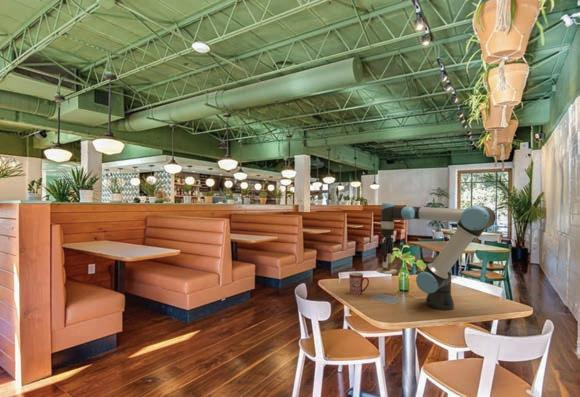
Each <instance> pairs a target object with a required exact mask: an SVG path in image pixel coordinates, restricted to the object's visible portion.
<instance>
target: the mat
mask: <svg viewBox="0 0 580 397" xmlns="http://www.w3.org/2000/svg"><path fill="white" fill-rule="evenodd" d="M403 299H404V298H403V297H400V296H394V295H391V294H390V295H389V294H386V293H385V294H384V293H379V292H378V293H376V294H375V295H372V296H371V297H369V298H368V300H372V301H375V302H381V303H385V304H389V305H396V304H397V303H399V302H400V301H402V300H403Z"/></svg>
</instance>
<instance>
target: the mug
mask: <svg viewBox="0 0 580 397" xmlns="http://www.w3.org/2000/svg"><path fill="white" fill-rule="evenodd" d="M348 276H349V277H348V278H349V295H352V296H356V297H357V296H358V297H360V296H362V295H363V292H364V291H365V290H366V289H367V288H368V286H369V284H370V280H369V278H368V277H366V276H364V273H362V272H355V271H353V272H349V273H348ZM363 276H364V277H363ZM365 279H366V281H367V284H366V286H365V287H364V288H363V282H364V281H365Z"/></svg>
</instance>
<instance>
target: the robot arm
mask: <svg viewBox="0 0 580 397" xmlns="http://www.w3.org/2000/svg"><path fill="white" fill-rule="evenodd" d="M380 207H381V208H380V209H381V210H380V217H381V218H380V227H381V228H380V235H382V239H381V238H380V242H381V243H380V244H381V246H380V247H381V249H380V252H381V253H380V256H381V257H382V268H383V267H385V268H388V257H387V253H390V254H391V256H394V253H393V252H394V251H393V250H394V238H393V237H392V236H394V232H395V230H394V228H395V220H406V221H409V220H424V221H437V222H447V223H449V222H450V223H456V225H457V229H456V230H455V232H454V233H453V234H452V236H451V237H450V239H449V240H447V242H446V244H445V246H444V247H443V248H442V250H441V251H440V252H439V253H438V255H437V256H436V258H435V259H434V260H433V262H432V263H427V265H426V267H425V268H424V269H423V270H422V271H420V272H419V273H418V274H417V276H416V278H415V282H416V286H417V288H418V289H419V290H421V291H422V292H423V293H425V294H427V295H426V298H425V301H424V303H425V305H426V306H427V307H430V308H432V309H436V310H442V311H443V310H444V311H450V310H453V309H455V303H454V299H453V296H452V268H453V266H454V265H455V263H456V262H457V261H458V260H459V259H460V257H461V256H462V255H463V254H464V252H465V251H466V249H467V248H468V247H469V246H470V244H471V243H472V241H473V240H474V239H475V238H479V237H480V236H481V235H483V232H485V230H486V229H488V228H490V227H492V226H493V225H494V224H495V223H496V220H497V219H496V213H495V212H494V210H492V209H491V208H490V207H488V206H483V205H471V206H469V207H466V208H452V207H451V208H450V207H447V208H446V207H429V206H428V207H426V206H395V203H394V202H390V203H389V202H383V203H381V206H380Z"/></svg>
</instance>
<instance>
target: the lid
mask: <svg viewBox="0 0 580 397" xmlns="http://www.w3.org/2000/svg"><path fill="white" fill-rule="evenodd" d="M387 257H388V268H385V267H383V266H382V267H379V268H377V269H376V272H377V273H378V274H379V273H380V274H385V275H394V274H398V270H397V269H394V268H392V255H391V254H390V253H387Z"/></svg>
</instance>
